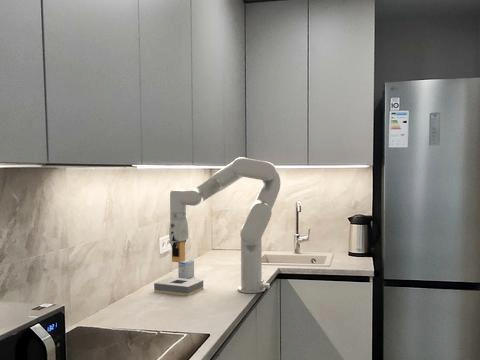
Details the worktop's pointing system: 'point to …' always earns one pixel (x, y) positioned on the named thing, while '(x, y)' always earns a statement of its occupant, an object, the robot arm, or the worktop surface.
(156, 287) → the socket block
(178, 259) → the plug
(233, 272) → the worktop surface
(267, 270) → the worktop surface
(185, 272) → the medicine box
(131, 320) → the worktop surface
